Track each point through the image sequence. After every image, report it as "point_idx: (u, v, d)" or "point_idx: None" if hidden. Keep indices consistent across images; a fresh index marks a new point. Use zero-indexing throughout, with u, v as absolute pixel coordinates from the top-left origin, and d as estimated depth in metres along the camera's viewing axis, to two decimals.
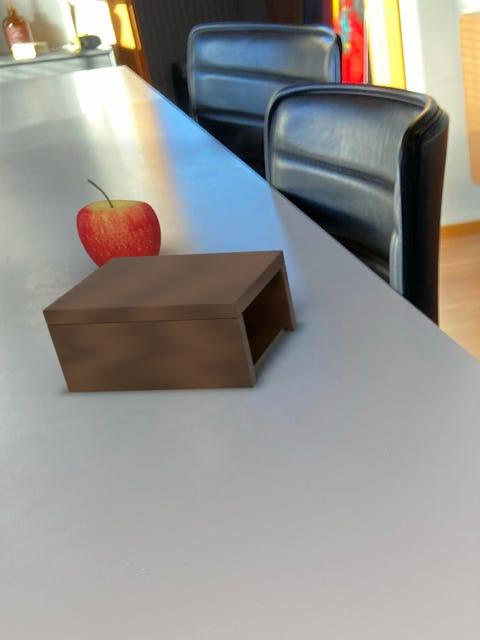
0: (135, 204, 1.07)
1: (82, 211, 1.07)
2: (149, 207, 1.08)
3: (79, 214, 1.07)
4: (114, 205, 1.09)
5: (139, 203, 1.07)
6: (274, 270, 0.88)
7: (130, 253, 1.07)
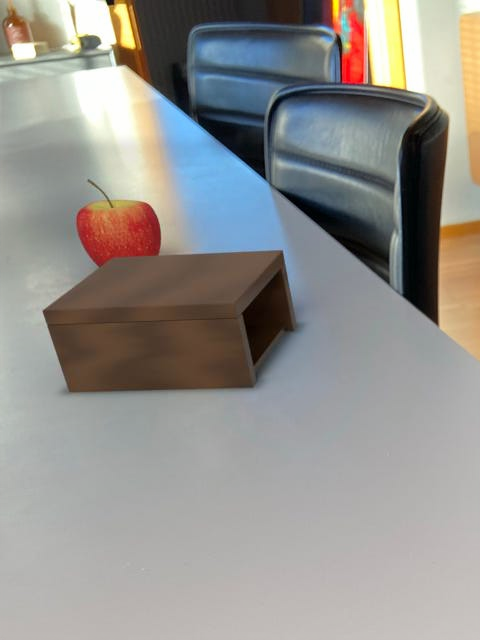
0: (135, 204, 1.07)
1: (82, 211, 1.07)
2: (149, 207, 1.08)
3: (79, 214, 1.07)
4: (114, 205, 1.09)
5: (139, 203, 1.07)
6: (274, 270, 0.88)
7: (130, 253, 1.07)
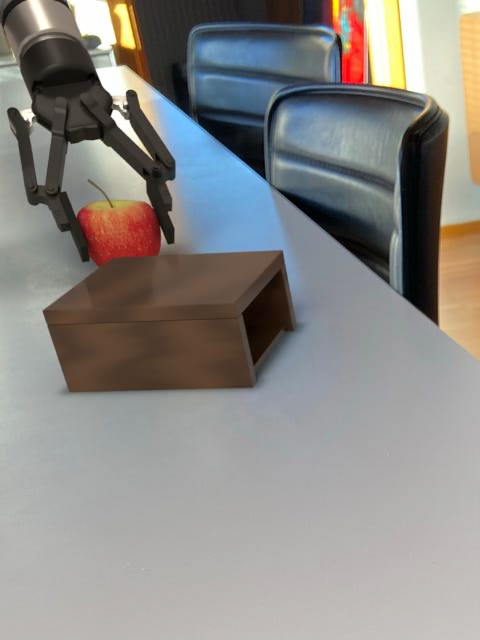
0: (135, 204, 1.07)
1: (82, 211, 1.07)
2: (149, 207, 1.08)
3: (79, 214, 1.07)
4: (114, 205, 1.09)
5: (139, 203, 1.07)
6: (274, 270, 0.88)
7: (130, 253, 1.07)
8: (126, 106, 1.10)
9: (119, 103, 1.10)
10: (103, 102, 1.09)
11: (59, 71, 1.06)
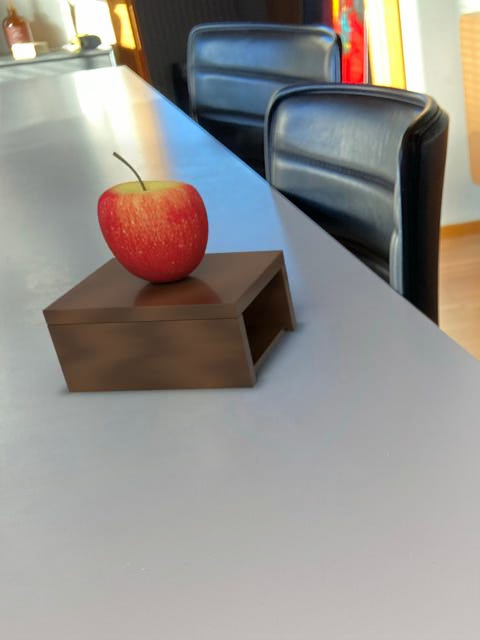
0: (176, 186, 0.80)
1: (105, 195, 0.80)
2: (194, 190, 0.81)
3: (101, 199, 0.80)
4: (147, 187, 0.82)
5: (181, 185, 0.80)
6: (274, 270, 0.88)
7: (169, 251, 0.81)
8: None
9: None
10: None
11: None
